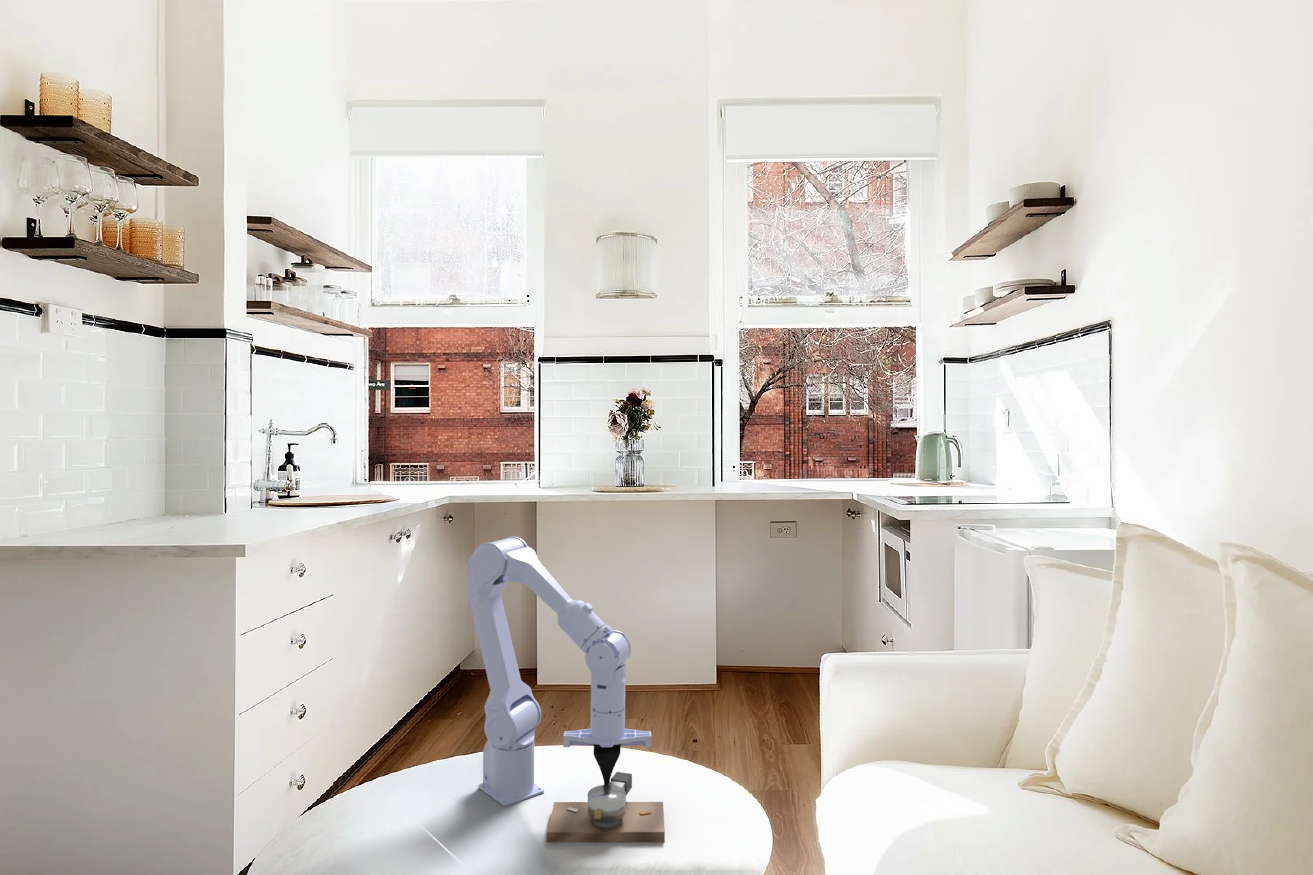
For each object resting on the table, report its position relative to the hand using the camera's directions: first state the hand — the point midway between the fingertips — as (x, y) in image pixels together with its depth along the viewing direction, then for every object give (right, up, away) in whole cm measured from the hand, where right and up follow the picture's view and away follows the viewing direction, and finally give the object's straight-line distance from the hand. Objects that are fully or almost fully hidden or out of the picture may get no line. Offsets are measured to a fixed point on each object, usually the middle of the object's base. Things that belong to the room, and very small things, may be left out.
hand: (607, 788), depth 127 cm
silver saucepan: (+1, -1, -5) cm, 5 cm away
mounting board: (0, -3, -6) cm, 7 cm away
